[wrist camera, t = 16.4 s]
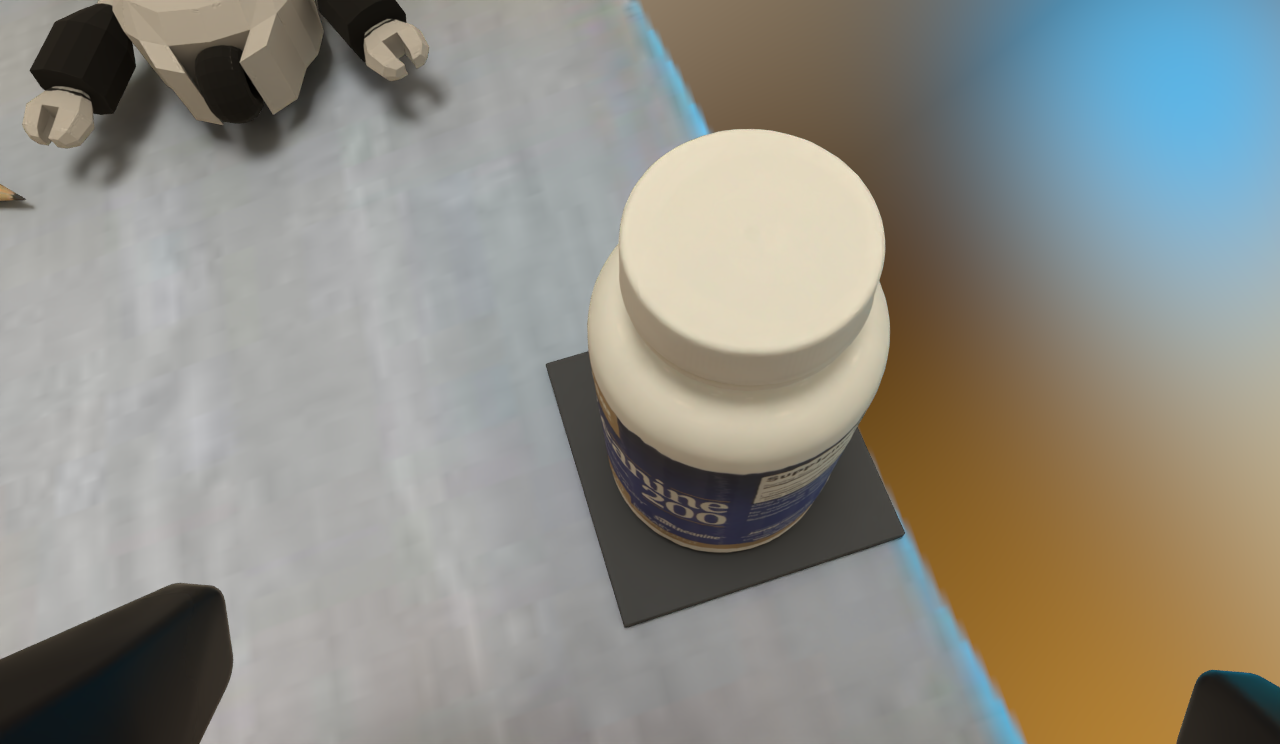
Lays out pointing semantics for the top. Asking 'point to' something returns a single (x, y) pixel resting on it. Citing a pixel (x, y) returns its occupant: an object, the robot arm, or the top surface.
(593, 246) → the top surface
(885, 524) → the mat
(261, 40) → the robot toy
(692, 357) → the pill bottle
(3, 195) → the pencil
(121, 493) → the top surface
